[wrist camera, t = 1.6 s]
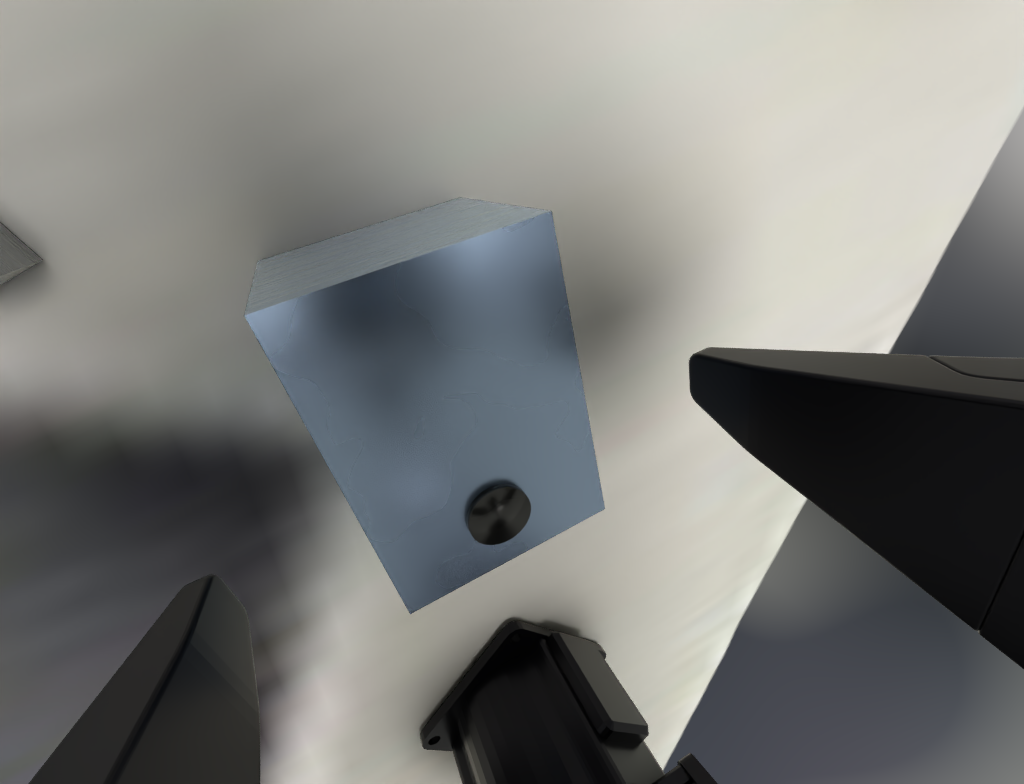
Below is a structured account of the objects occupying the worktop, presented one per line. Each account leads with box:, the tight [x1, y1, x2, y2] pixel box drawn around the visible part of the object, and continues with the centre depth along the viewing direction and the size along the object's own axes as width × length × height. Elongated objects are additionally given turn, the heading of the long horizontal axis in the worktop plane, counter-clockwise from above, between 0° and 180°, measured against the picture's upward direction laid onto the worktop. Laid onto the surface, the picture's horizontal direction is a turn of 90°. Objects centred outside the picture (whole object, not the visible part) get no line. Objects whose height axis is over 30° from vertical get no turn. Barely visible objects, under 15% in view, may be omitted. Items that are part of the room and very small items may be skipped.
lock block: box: [244, 198, 605, 614], centre depth 11 cm, size 5×7×5 cm
